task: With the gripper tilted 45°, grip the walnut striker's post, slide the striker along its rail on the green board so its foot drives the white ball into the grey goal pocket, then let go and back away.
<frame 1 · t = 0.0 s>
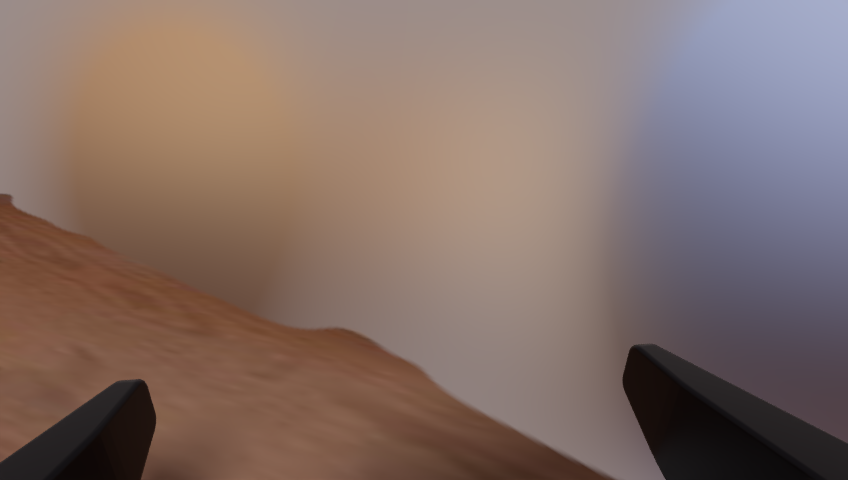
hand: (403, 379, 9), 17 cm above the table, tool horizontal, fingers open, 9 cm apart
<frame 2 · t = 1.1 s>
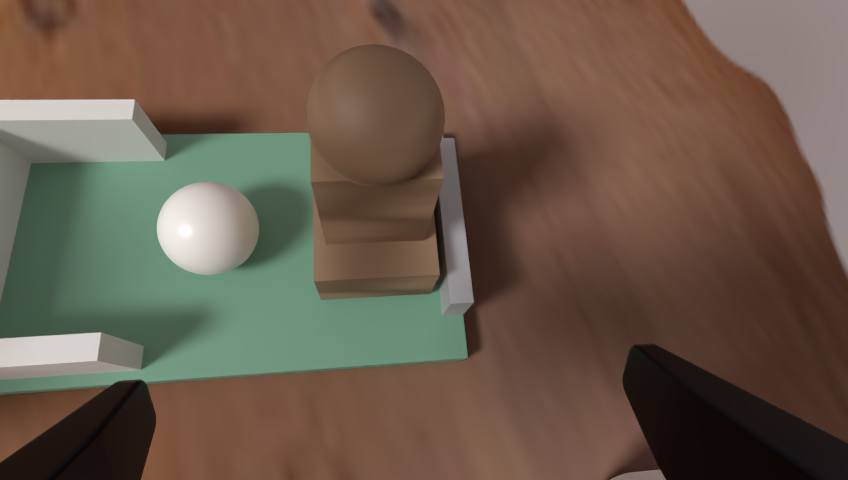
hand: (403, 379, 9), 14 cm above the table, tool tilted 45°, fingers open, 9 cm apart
striker: (374, 179, 18), point 7 cm above the table, slide at 0.0 cm
pitch: (239, 250, 23), on the table
ball: (210, 228, 21), point 3 cm above the table, touching pitch
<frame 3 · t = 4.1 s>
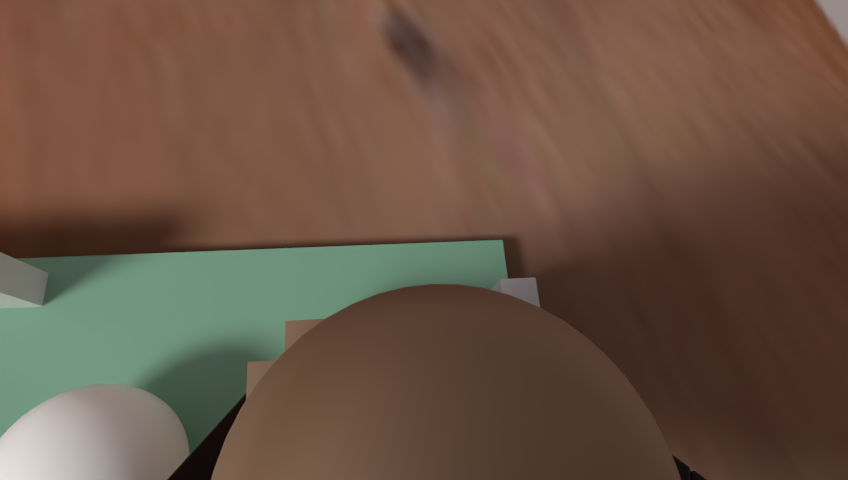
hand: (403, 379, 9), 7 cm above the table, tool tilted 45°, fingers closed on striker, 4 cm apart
striker: (410, 463, 8), point 7 cm above the table, slide at 0.0 cm, touching gripper
pitch: (167, 460, 14), on the table
ball: (92, 474, 11), point 3 cm above the table, touching pitch
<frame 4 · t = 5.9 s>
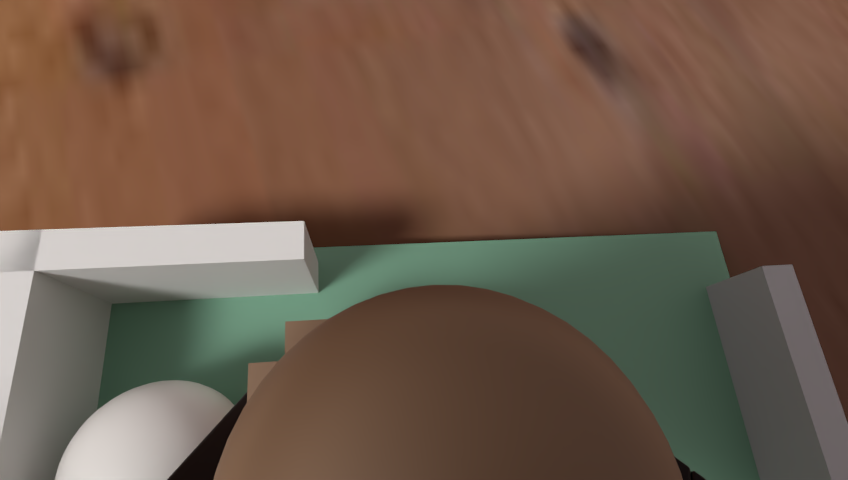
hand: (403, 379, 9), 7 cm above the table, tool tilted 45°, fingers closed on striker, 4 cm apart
striker: (410, 464, 8), point 7 cm above the table, slide at 7.9 cm, touching gripper
pitch: (438, 436, 15), on the table
ball: (161, 469, 11), point 3 cm above the table, tilted 179°, touching pitch
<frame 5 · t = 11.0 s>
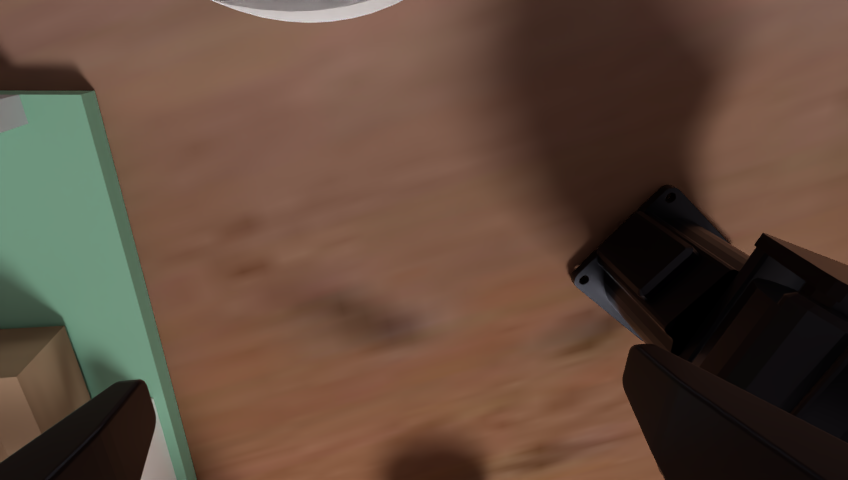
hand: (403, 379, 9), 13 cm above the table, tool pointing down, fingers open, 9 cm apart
pitch: (14, 331, 22), on the table
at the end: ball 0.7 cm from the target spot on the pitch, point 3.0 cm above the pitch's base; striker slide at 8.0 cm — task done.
